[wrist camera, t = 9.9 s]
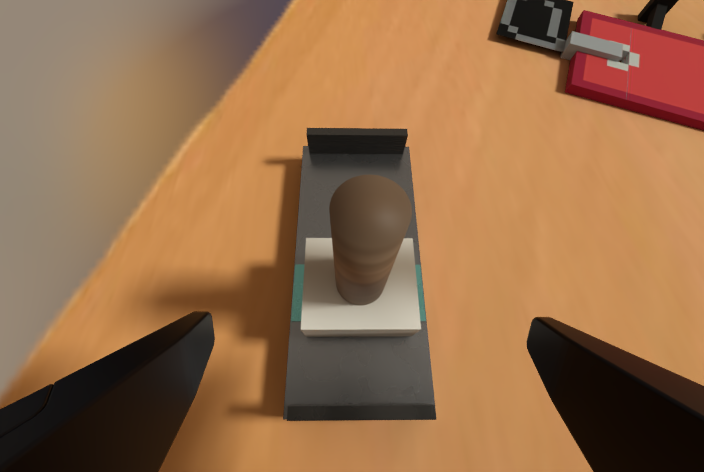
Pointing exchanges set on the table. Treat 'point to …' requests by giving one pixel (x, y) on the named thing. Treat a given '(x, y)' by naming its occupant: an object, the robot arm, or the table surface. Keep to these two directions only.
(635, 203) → the table surface
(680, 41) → the red board with handle
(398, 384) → the rail
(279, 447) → the table surface
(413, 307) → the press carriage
